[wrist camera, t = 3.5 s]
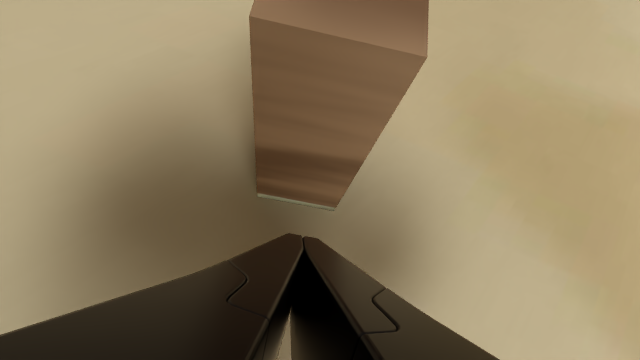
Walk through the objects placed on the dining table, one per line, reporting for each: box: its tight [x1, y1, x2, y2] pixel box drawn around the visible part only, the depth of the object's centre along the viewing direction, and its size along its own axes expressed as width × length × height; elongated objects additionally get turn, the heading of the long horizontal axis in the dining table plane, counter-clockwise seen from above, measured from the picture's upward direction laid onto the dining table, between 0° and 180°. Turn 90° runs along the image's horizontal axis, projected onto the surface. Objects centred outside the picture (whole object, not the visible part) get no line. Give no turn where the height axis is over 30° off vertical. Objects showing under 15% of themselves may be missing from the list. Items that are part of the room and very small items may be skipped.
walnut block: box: [249, 0, 429, 211], centre depth 17 cm, size 5×5×14 cm
